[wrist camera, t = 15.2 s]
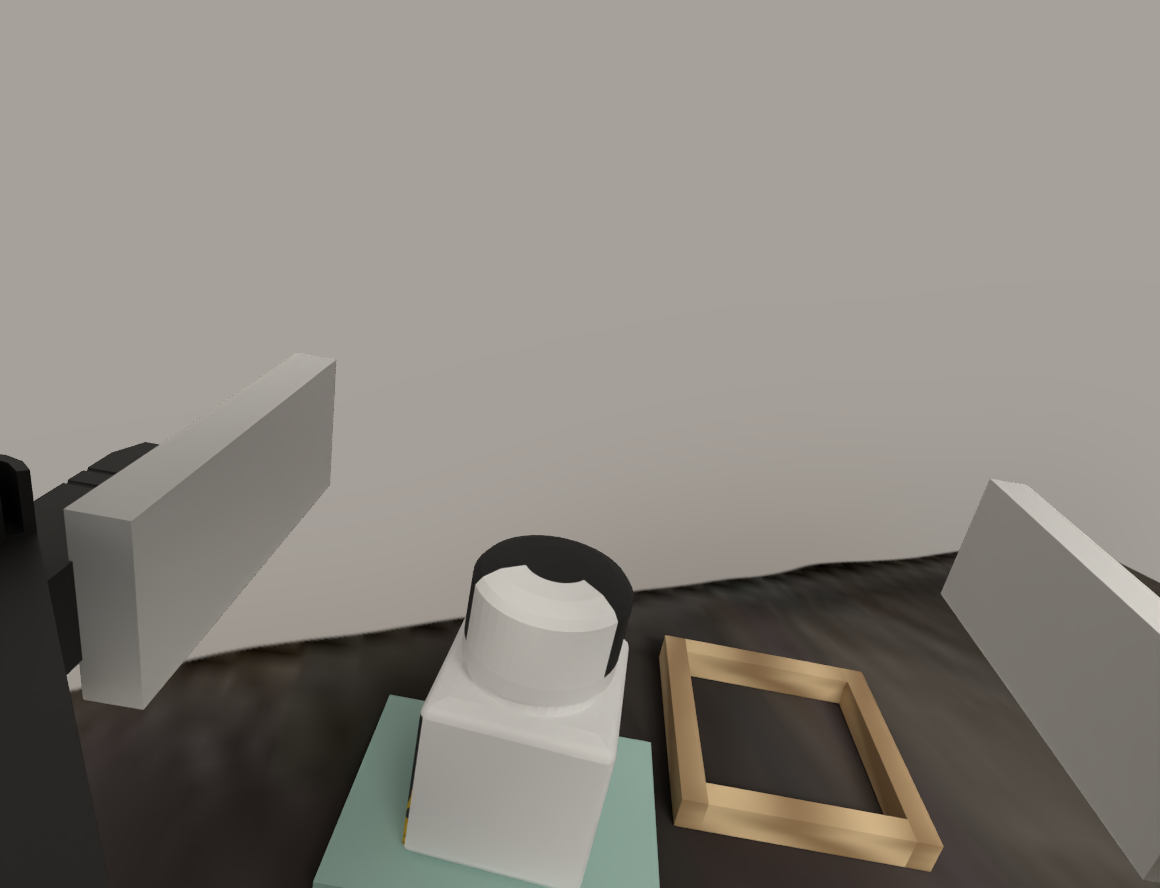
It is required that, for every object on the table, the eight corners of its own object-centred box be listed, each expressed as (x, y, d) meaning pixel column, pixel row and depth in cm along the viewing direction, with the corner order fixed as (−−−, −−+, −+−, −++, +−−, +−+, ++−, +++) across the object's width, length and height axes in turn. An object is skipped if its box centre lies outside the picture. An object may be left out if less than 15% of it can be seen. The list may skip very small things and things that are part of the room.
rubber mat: (647, 754, 37) (650, 742, 37) (657, 957, 28) (663, 943, 28) (388, 707, 37) (389, 694, 36) (311, 897, 27) (312, 882, 27)
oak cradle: (852, 693, 45) (861, 672, 44) (930, 871, 34) (943, 846, 33) (659, 656, 45) (665, 635, 44) (673, 825, 33) (682, 799, 33)
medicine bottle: (451, 723, 35) (488, 500, 31) (598, 760, 35) (656, 540, 31) (398, 853, 29) (434, 593, 24) (578, 900, 28) (648, 645, 24)
